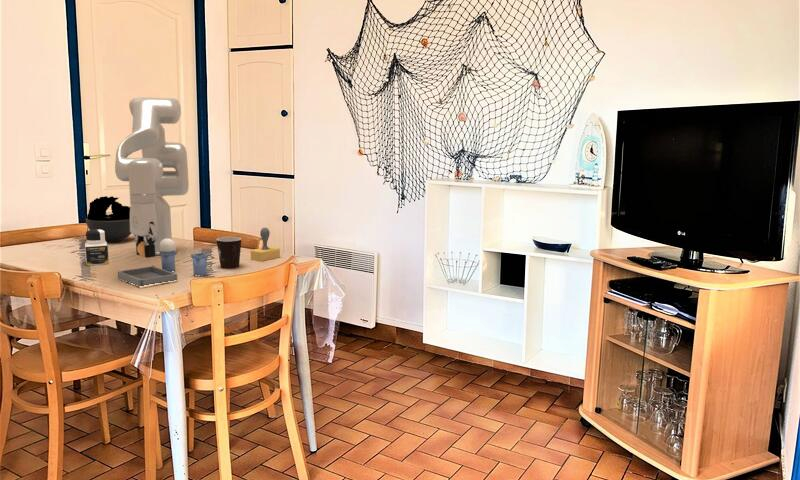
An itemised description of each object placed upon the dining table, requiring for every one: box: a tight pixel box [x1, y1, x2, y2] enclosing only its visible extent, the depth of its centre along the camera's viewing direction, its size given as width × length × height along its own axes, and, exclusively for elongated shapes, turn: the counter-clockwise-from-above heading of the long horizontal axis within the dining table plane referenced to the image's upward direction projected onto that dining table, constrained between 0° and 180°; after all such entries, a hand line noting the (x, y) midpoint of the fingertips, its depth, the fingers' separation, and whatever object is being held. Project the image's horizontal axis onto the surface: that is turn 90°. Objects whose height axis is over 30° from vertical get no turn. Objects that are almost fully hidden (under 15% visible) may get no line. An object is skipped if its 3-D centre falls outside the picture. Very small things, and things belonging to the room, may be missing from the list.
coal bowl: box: [85, 195, 132, 242], centre depth 270 cm, size 20×20×19 cm
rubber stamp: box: [250, 227, 281, 263], centre depth 242 cm, size 10×6×12 cm, turn 145°
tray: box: [117, 265, 178, 286], centre depth 208 cm, size 16×12×2 cm
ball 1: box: [137, 241, 146, 258], centre depth 206 cm, size 5×5×5 cm
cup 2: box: [190, 252, 209, 276], centre depth 215 cm, size 4×4×7 cm
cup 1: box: [159, 250, 177, 273], centre depth 220 cm, size 4×4×7 cm
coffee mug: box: [215, 236, 242, 270], centre depth 227 cm, size 12×9×10 cm
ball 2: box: [160, 238, 176, 253], centre depth 219 cm, size 5×5×5 cm
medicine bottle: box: [84, 229, 110, 266], centre depth 230 cm, size 7×7×12 cm
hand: (145, 255), depth 206 cm, fingers closed on ball 1, 4 cm apart
